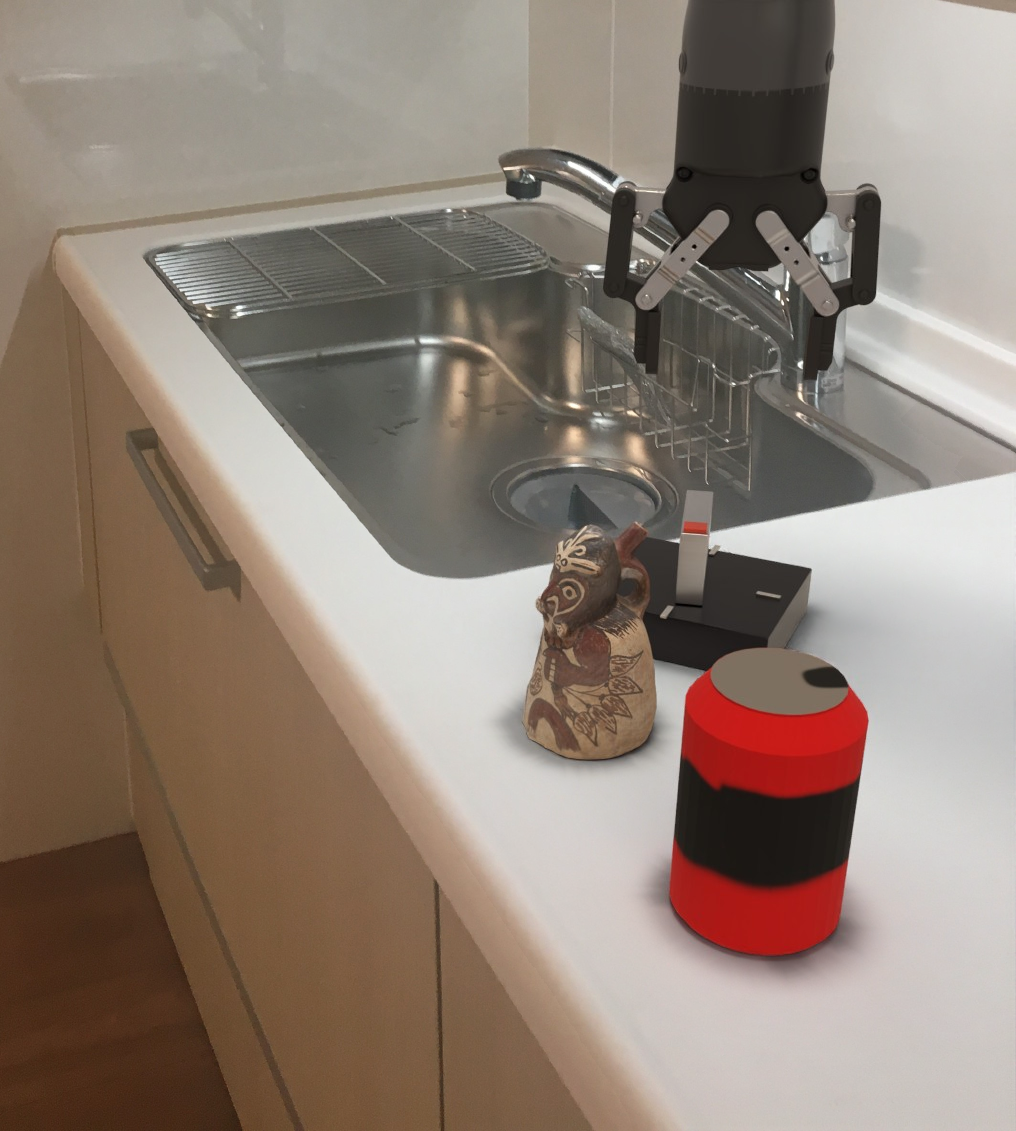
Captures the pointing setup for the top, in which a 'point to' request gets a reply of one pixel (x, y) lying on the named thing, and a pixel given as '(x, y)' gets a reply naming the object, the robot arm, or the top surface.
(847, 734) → the soda can
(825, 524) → the top surface
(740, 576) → the tap plate
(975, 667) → the top surface
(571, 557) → the figurine
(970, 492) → the top surface
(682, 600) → the grey rectangular block
